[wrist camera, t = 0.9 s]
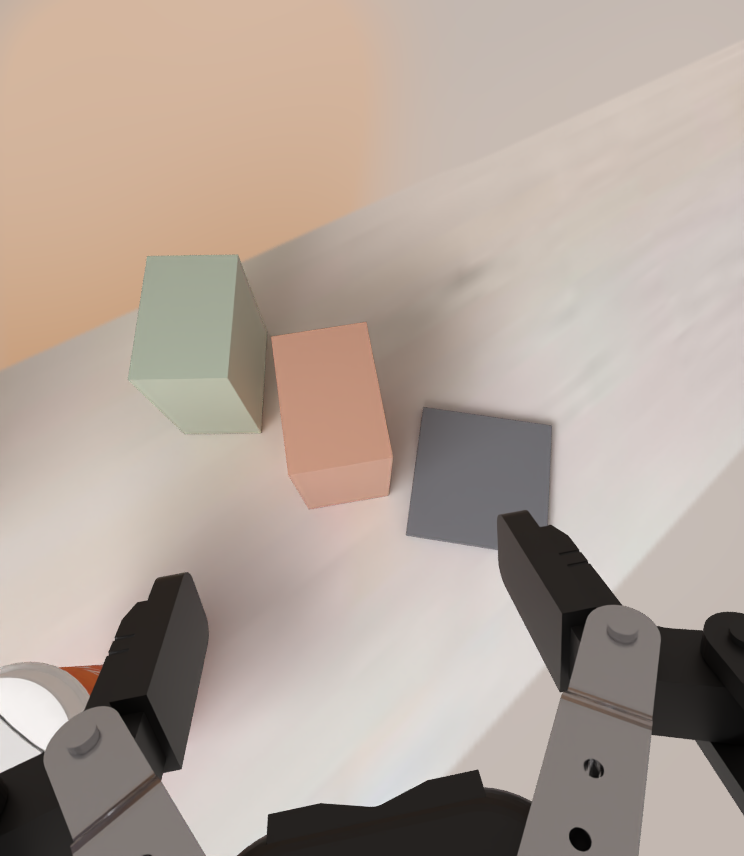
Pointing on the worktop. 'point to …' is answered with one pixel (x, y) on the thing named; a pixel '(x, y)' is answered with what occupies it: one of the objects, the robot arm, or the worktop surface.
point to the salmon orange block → (332, 415)
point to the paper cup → (38, 705)
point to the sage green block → (200, 344)
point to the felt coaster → (477, 476)
